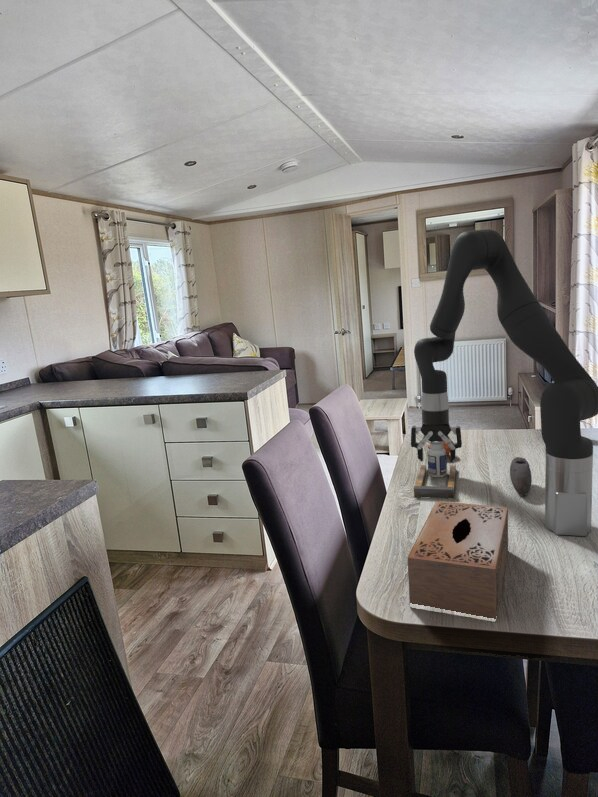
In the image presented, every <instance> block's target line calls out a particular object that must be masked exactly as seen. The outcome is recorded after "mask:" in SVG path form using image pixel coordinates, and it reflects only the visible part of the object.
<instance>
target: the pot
mask: <svg viewBox="0 0 598 797" xmlns="http://www.w3.org/2000/svg"><path fill="white" fill-rule="evenodd" d="M442 442H443V443H444V448H443V449H445V450H446V457H447V456H448V457H450V447H449V446H448V445H447V444H446V443H445V442H444V441H442ZM427 449H428V450H429V449H430V447H429V443H428V445H427Z"/></svg>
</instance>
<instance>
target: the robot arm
mask: <svg viewBox="0 0 598 797" xmlns="http://www.w3.org/2000/svg"><path fill="white" fill-rule="evenodd" d="M476 270H485V271H486V272H487V274H488V275H489V276H490V278H491V279H492V281H493V283H494V284H495V287H496V291H497V299H496V302H497V304H496V309H497V310H496V312H497V317H498V321H499V323H500V325H501V327H502V328H503V329H504V332H505V334H507V336H508V338H509V340H510V341H511V342H512V343H513V344H514V345H515V347H516V348H518V349H519V350H520V351H522V352H523V353H524V354H526V355H527V356H528V357H530V358H531V359H532V360H534V361H535V362H536V363H538V364H539V366H541V367H542V368H543V369H544V370H545V371H546V373H547V374H548V375H549V376H550V378H551V380H552V381H554V383H552V382H551V383H549V384H548V385H547V386H545V388H544V389H543V391H542V393H541V396H540V402H539V404H540V405H539V410H540V411H539V412H540V413H539V414H540V428H541V430H540V431H541V438H542V440H543V441H542V442H543V444H544V447H545V468H544V470H545V475H544V476H545V477H544V478H545V479H544V480H545V481H544V483H545V484H544V486H545V487H544V488H545V495H544V496H545V497H544V498H545V499H544V502H545V503H544V510H545V511H544V523H545V527H546V529H548V530H549V531H552V532H553V533H554V534H555V535H557V536H558V535H559V536H561V535H562V536H577V537H578V536H579V537H581V536H582V537H587V536H588V533H590V532H591V531H592V516H593V512H592V510H593V509H592V508H593V507H592V504H593V502H592V501H593V466H594V443H593V441H592V439H590V438H588V437H586V436H584V435H583V436H582V430H581V429H582V428H581V421H582V422H583V421H586V420H588V419H592V418H594V417H596V416H597V415H598V385H597V383H596V381H595V380H594V379H593V377H592V376H591V375H590V374H589V373H588V372H587V370H586V369H585V368H584V367H583V365H582V364H581V363H580V362H579V360H578V359H577V358H576V356H574V354H573V353H572V351H571V350H570V349H569V347H568V345H567V344H566V343H565V341H564V339H563V338H562V336H561V335H560V333H559V332H558V331H557V329H556V328H555V326H554V324H553V323H552V321H551V319H550V317H549V316H548V314H547V312H546V311H545V309H544V308H543V305H541V303H540V302H539V300H538V299H537V297H536V296H535V294H534V293H533V291H532V290H531V288H530V287H529V284H528V282H526V280H525V278H524V276H523V274H522V273H521V270H519V268H518V266H517V264H516V261H515V258H514V257H513V255H512V252H511V251H510V249H509V247H508V245H507V243H506V241H505V239H504V238H503V236H502V234H500V233H499V232H498V231H496V230H495V229H490V228H489V229H488V228H487V229H486V228H485V229H476V230H474V229H473V230H466V231H464V232H461V233H460V234H458V236H457V238H456V239H455V241H454V243H453V245H452V249H451V252H450V256H449V261H448V266H447V269H446V274H445V278H444V284H443V288H442V293H441V296H440V299H439V302H438V305H437V306H436V309H435V312H434V314H433V317H432V320H431V322H430V324H429V330H430V332H431V334H432V335H433V336H434V337H426V338H425V337H423V338H421V339H419V340H418V341H416V343H415V346H414V350H413V353H414V359H415V361H416V365H417V368H418V372H419V374H420V378H421V401H420V402H421V403H420V404H421V424H422V425H421V426H416V425H412V426H411V430H410V447H411V448H416V450H417V459H418V460H419V462H424V448H423V447H424V446H425V444H427V442H429V443H430V442H435V441H437V442H441V441H444V442H445V443H446V444H447V445H448V446H449V447H450V454H449V459H450V460H449V461H450V463H453V462H454V461H455V460H456V449H461V448H462V444H463V441H462V432H461V430H462V429H461V428H462V427H461V426H460V425H455V426H451V425H450V416H449V415H450V414H449V413H450V412H449V411H450V410H449V408H450V406H449V405H450V402H449V395H448V377H447V372H446V371H444V370H440V369H435V366H434V363H440V362H446V361H447V360H449V359H450V357H451V356H452V355H453V353H454V349H455V348H454V346H455V339H456V332H457V330H458V327H459V325H460V323H461V321H462V318H463V316H464V314H465V308H466V303H465V296H464V295H465V294H464V286H465V283H466V281H467V279H468V277H469V275H470V274H471V272H472V271H476ZM419 432H421V433H422V435H423V436H422V439H421V440H420V441H419V442H417V435H418V434H419ZM451 432H452V433H453V435H456V436H455V437H456V442H454V441H453V439H452V438H451V437H450V436H449V435H450V433H451Z"/></svg>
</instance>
